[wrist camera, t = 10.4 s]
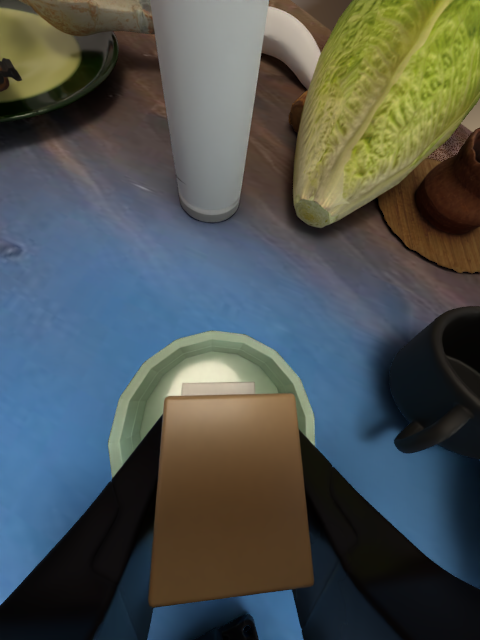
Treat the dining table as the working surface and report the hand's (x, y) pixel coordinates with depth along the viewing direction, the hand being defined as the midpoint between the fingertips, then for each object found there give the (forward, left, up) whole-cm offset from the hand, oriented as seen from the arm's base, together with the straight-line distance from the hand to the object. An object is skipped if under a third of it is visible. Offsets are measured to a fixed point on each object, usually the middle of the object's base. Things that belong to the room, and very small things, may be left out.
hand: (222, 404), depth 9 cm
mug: (-6, -16, -9) cm, 19 cm away
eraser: (-1, 0, -6) cm, 7 cm away
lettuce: (+27, -18, -7) cm, 33 cm away
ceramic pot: (+13, -32, -9) cm, 36 cm away
